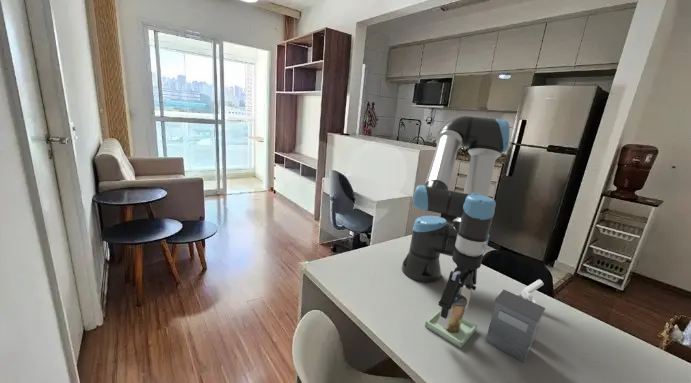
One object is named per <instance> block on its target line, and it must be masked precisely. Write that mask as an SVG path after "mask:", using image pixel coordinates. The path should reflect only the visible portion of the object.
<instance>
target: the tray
mask: <svg viewBox="0 0 691 383" xmlns="http://www.w3.org/2000/svg"><path fill="white" fill-rule="evenodd" d="M440 311H441V308H439V309H438V310H437V311H436V312H435V313H434V314H433V315H431V316H430V317H429V318H428V319H427V320H426V321H425V324H424V327H425V328H427V329H428V330H429V331H430V332H431V331H432V332H433V333H434V334H436V335H438V336H439V337H441V338H442V339H444V340H445V341H447V342H449V343H450V344H452V345H454V346H455V347H457V348H459V349H460V350H461V349H462V348H463V346H464V345H466V343H467V341H469V339H470V338H471V337H472V336H473V334H474V333H476V331H477V327H478V325H476V324H475V323H473V322H471V321H470V320H468V319H466V318H465V317H463V319H462V323H461V327H460V331H459V332H458V333H450V332H448V331H446V330H445V329H444V328H443V327H442V326H441V325H439V324H438V320H439V316H440Z"/></svg>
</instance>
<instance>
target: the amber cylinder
mask: <svg viewBox="0 0 691 383" xmlns="http://www.w3.org/2000/svg"><path fill="white" fill-rule="evenodd" d="M466 305H467V299H466V298H465V297H464V296H463V295H461V293H458V294H457V296H456V299H455V301H454V303H453V305H452V308H453V309H452V313H451V317H450V321H449V326H448V328H447V329H446V328H444V327H443V328H444V329H445V330H446V331H448V332H450V333H458V332H459V331H460V327H461V323H462V319H463V318H464V313H465V310H466V309H465V306H466Z"/></svg>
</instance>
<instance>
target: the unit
mask: <svg viewBox="0 0 691 383" xmlns="http://www.w3.org/2000/svg"><path fill="white" fill-rule="evenodd" d="M494 303H495V304H494V307H493V311H492V315H491V318H490V322H489V326H488V329H487V332H486V336H485V341H484V342H487V343H488V344H491V345H492V346H494V347H496V348H497V349H499V350H500V351H503V352H504V353H506V354H508V355H510V356H511V357H513V358H515V359H517V360H518V361H520V362H522V363H523V364H524V363H525V361H526V359H527V357H528V356H529V353H530V351H531V348H532V346H533V343H534V341H535V339H534V337H535V338H536V336H535V334H536V335H537V333H536V331H537V332H538V330H537V328H538V329H539V327H538V325H539V326H540V321H541V318H542V317H543V315H544V313H545V310H546V307H544V306H542V305H540V304H538V303H537V302H536V303H533V302H531V301H529V300H527V299H524V298H522V297H520V296H518V295H516V294H515V293H513V292H510V291H509V290H506V289H502V291H500V293H499V294H498V295H497V297H496V298H495V299H494ZM533 340H534V341H533Z"/></svg>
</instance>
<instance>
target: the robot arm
mask: <svg viewBox="0 0 691 383" xmlns="http://www.w3.org/2000/svg"><path fill="white" fill-rule="evenodd" d="M509 141H510V124H509V122H508V121H507V120H504V119H499V118H489V117H478V116H470V115H464V116H463V115H462V116H458V117H456V118H453V119H451V120H449V121H448V122H446V124H444V125H443V126H442V127H441V128H440V130H439V131H438V133H437V136H436V139H435V142H436V147H435V150H434V154H433V157H432V160H431V163H430V167H429V170H428V172H427V177H426V179H425V182H424V184H418V185H417V186H416V187H415V190H414V193H413V199H412V200H413V201H412V204H413V207H414V208H416V209H419V210H423V211H425V212H431V213H438V214H442V215H448V216H451V217H455V218H454V219H453V220H452V224H449V223H448V221H447V219H445V218H444V217H441V216H437V215H422V216H420V217H416V219H415V220H414V224H413V227H412V235H411V241H410V245H409V250H408V253H407V254H406V256H405V257H404V260H403V261H402V266H401V270H402V273H403V274H405V275H406V276H407V277H408V278H411V279H412V280H415V281H418V282H421V283H434V282H437V281H439V280H440V278H441V273H442V269H441V264H440V255H445V256H449V257H452V261H453V263H454V264H455V265H456V267H455V268H454V270H450V273H449V276H448V279H447V282H446V284H445V286H444V290H443V292H442V293H441V294H442V295H441V298H440V300H439V301H438V307H440V309H441V311H440V316H439V320H438V324H439V325H441V326H442V327H444V328H446V329H447V328H448V326H449V321H450V317H451V313H452V309H453V308H452V305H453V303H454V301H455V299H456V296H457V294H459V292H460V290H461V292H460V294H461V295H463V296H464V297H465V298H466V299H467V305H466V306H465V310H467V309H468V308H469V304H470V299H471V296H472V293H473V290H474V291H475V290H476V289H477V286H476V285H477V278H478V277H477V274H478V269H479V268H481V266H482V263H483V258H484V254H485V252H486V249H488V243H489V238H490V234H489V232H490V229H491V225H492V222H493V218H494V216H495V209H496V206H497V205H496V204H497V203H496V201H495V199H494V198H491V197H489V193H490V189H491V184H492V179H493V174H494V169H495V166H496V165H495V163H496V160H497V159H498V158H500V157H501V156H502V153H505V152H507V150H508V147H509ZM461 147H465V148H467V149H468V150H467V153H468V154H469V155H470V160H469V165H468V169H467V170H468V171H467V175H466V179H465V184H464V188H463V192H459V191H455V190H454V191H453V190H449V189H450V188H449V187H450V183H451V180H452V175H453V172H454V171H453V170H454V168H455V163H456V158H457V154H458V150H460V148H461Z"/></svg>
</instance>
